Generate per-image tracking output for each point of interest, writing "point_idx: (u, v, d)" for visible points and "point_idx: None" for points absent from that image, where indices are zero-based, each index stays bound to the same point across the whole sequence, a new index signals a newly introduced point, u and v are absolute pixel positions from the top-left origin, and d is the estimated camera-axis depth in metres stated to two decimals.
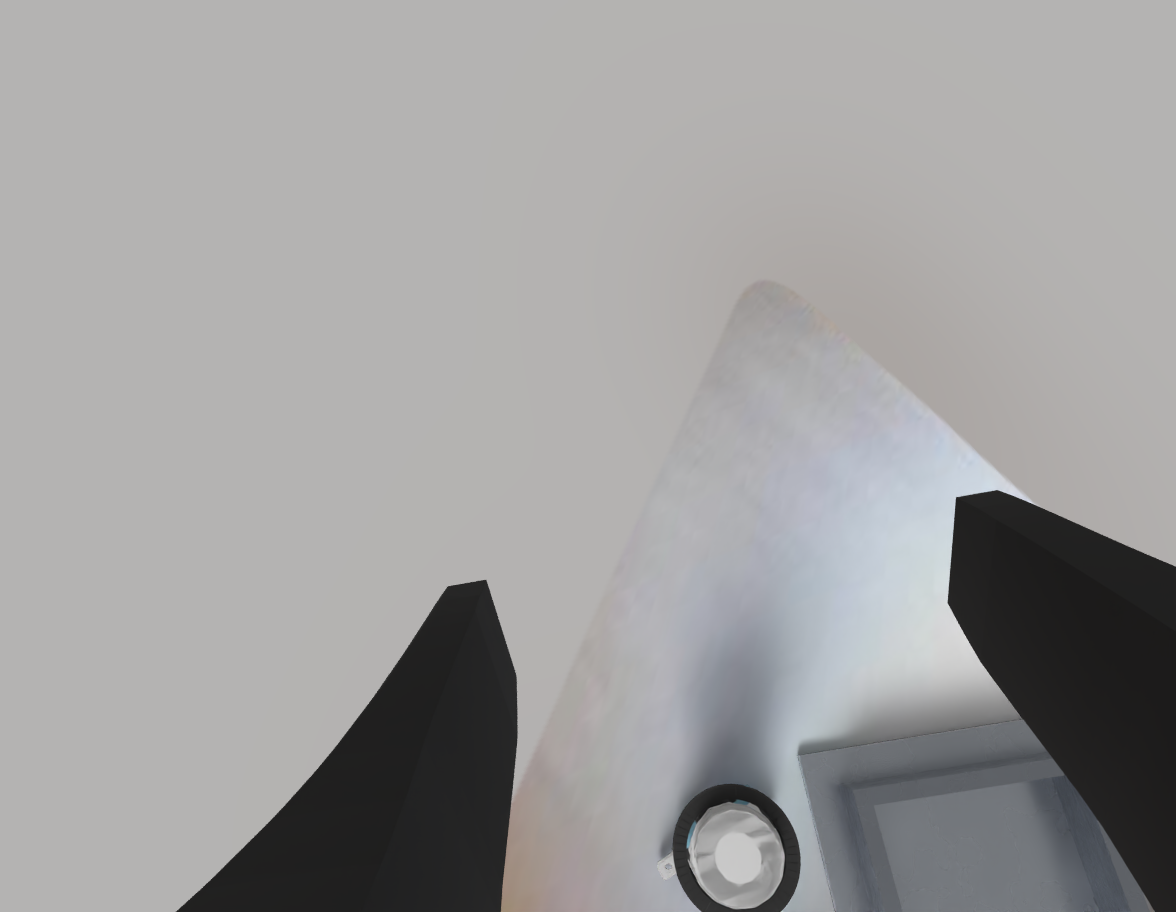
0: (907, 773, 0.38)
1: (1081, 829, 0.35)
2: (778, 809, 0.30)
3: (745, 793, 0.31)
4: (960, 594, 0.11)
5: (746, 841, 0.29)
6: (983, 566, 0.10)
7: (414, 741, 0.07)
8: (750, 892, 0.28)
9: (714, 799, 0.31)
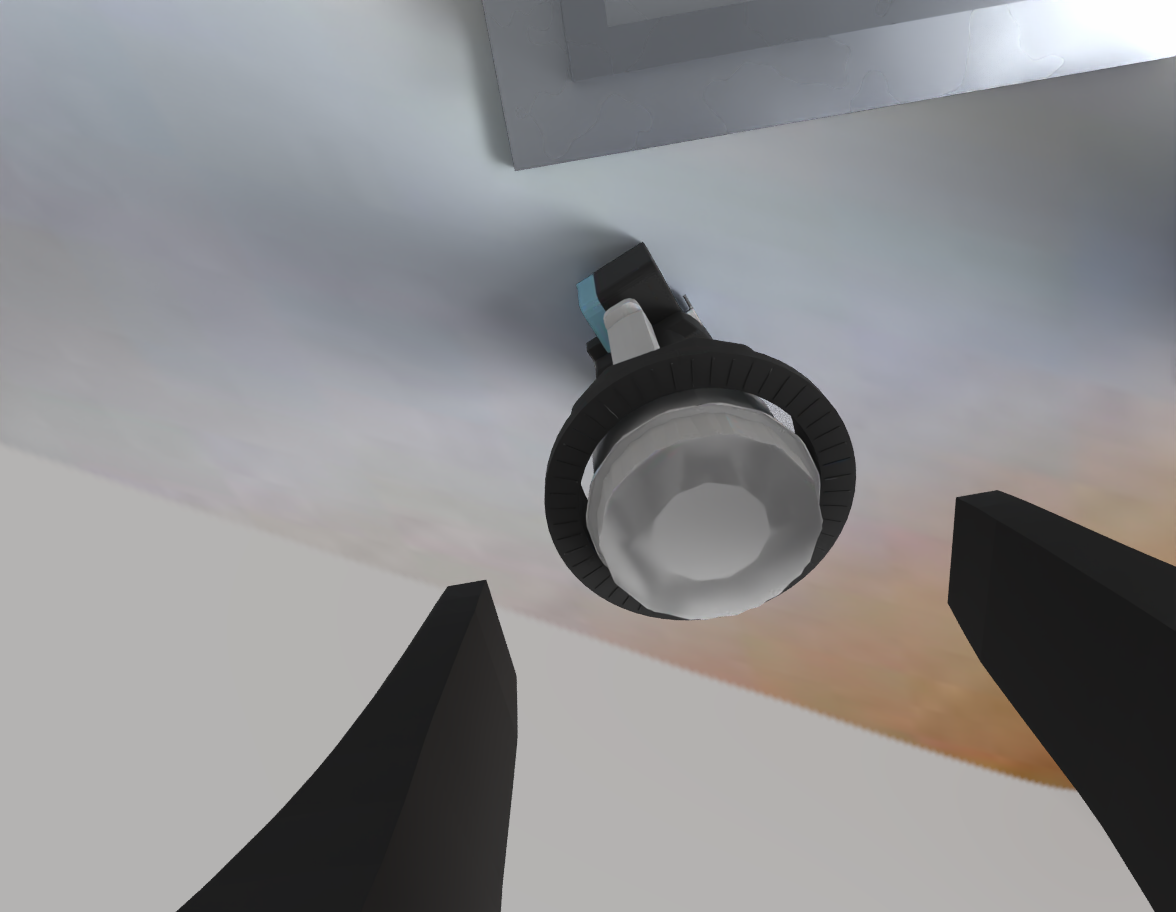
0: None
1: None
2: (601, 397, 0.11)
3: (564, 473, 0.12)
4: (960, 594, 0.11)
5: (674, 514, 0.11)
6: (983, 566, 0.10)
7: (414, 741, 0.07)
8: (789, 511, 0.11)
9: (579, 540, 0.12)
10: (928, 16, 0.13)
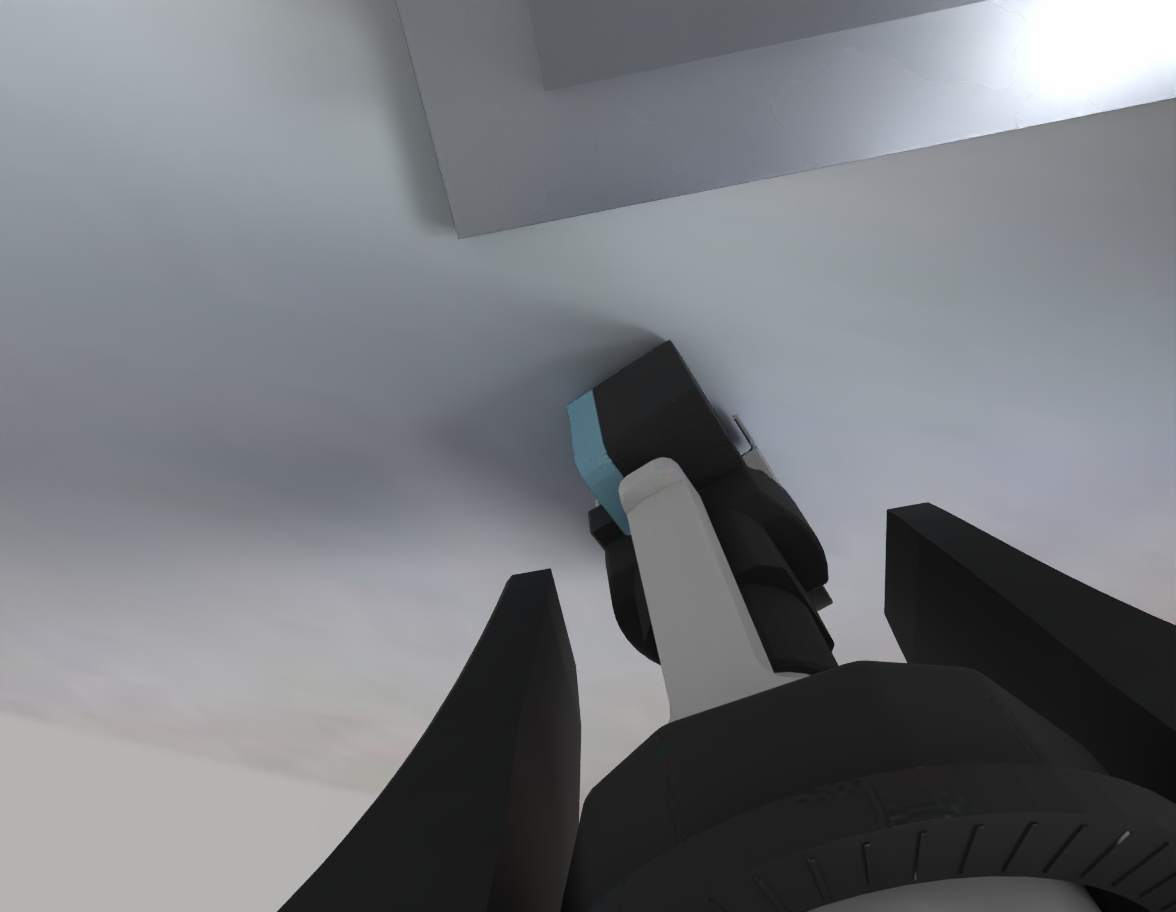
0: None
1: None
2: None
3: None
4: (894, 605, 0.11)
5: None
6: (911, 578, 0.10)
7: (508, 725, 0.07)
8: None
9: None
10: None
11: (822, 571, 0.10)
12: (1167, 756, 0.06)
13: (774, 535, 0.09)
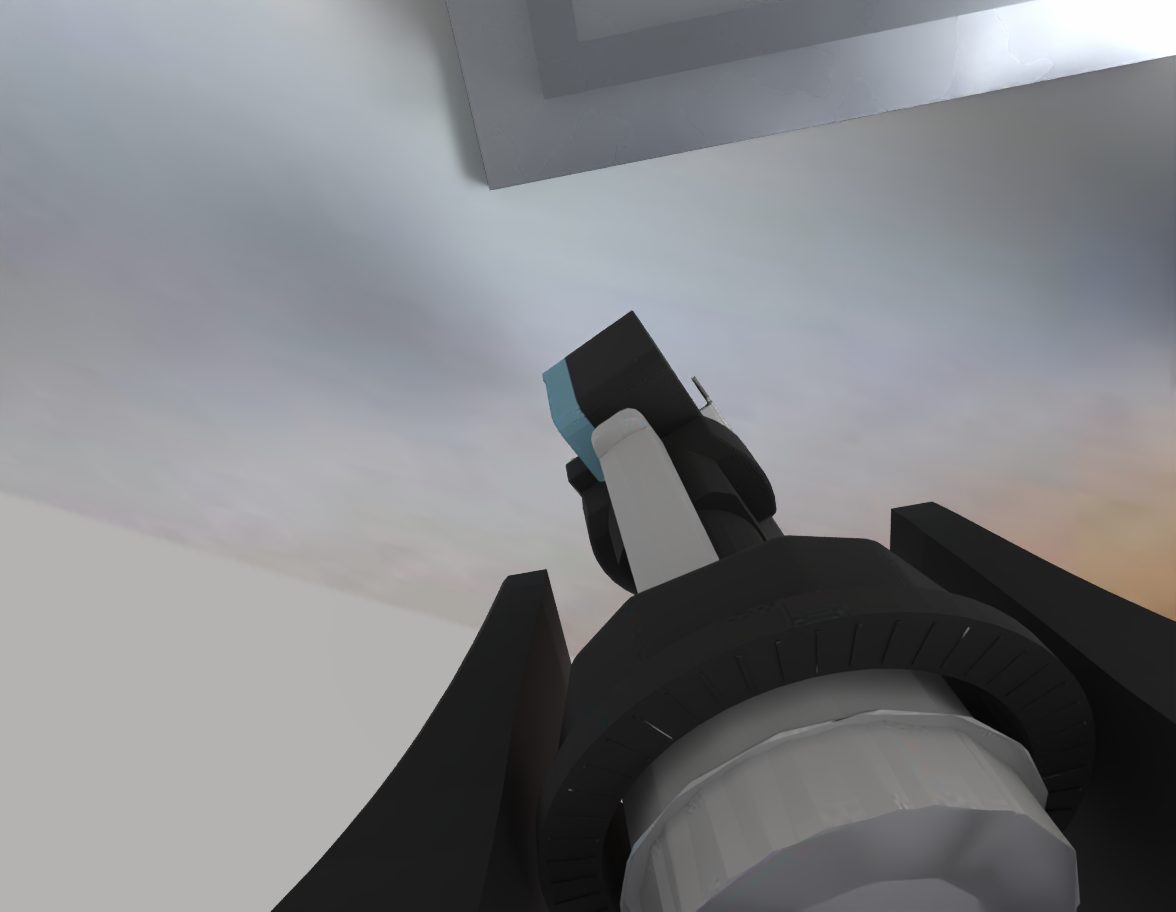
0: None
1: None
2: (639, 710, 0.06)
3: (572, 831, 0.06)
4: None
5: None
6: None
7: (502, 727, 0.07)
8: (1022, 899, 0.06)
9: None
10: (913, 23, 0.13)
11: (770, 503, 0.11)
12: None
13: (727, 471, 0.11)
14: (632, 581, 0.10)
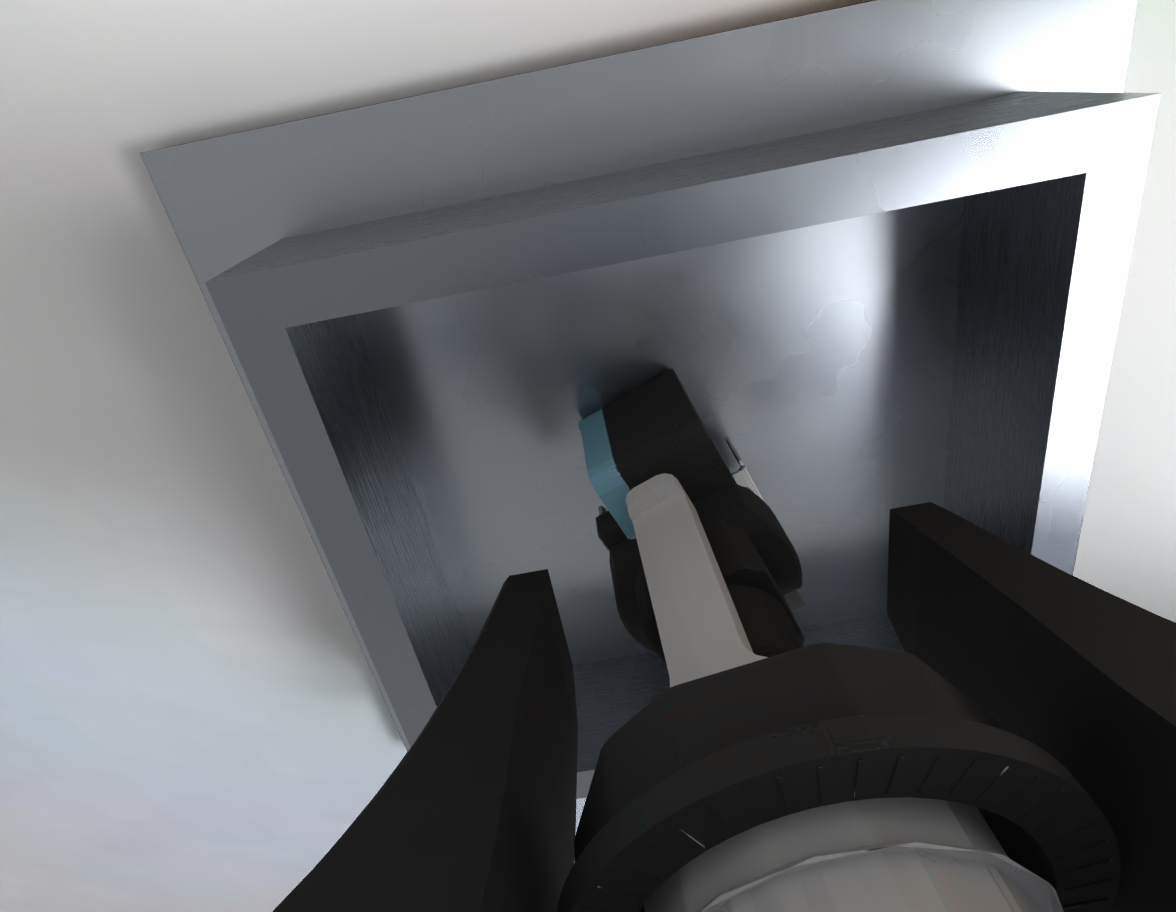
0: None
1: None
2: (676, 819, 0.06)
3: None
4: (896, 605, 0.11)
5: None
6: (914, 578, 0.10)
7: (504, 726, 0.07)
8: None
9: None
10: None
11: (797, 577, 0.11)
12: (1173, 756, 0.06)
13: (758, 544, 0.11)
14: (656, 647, 0.10)
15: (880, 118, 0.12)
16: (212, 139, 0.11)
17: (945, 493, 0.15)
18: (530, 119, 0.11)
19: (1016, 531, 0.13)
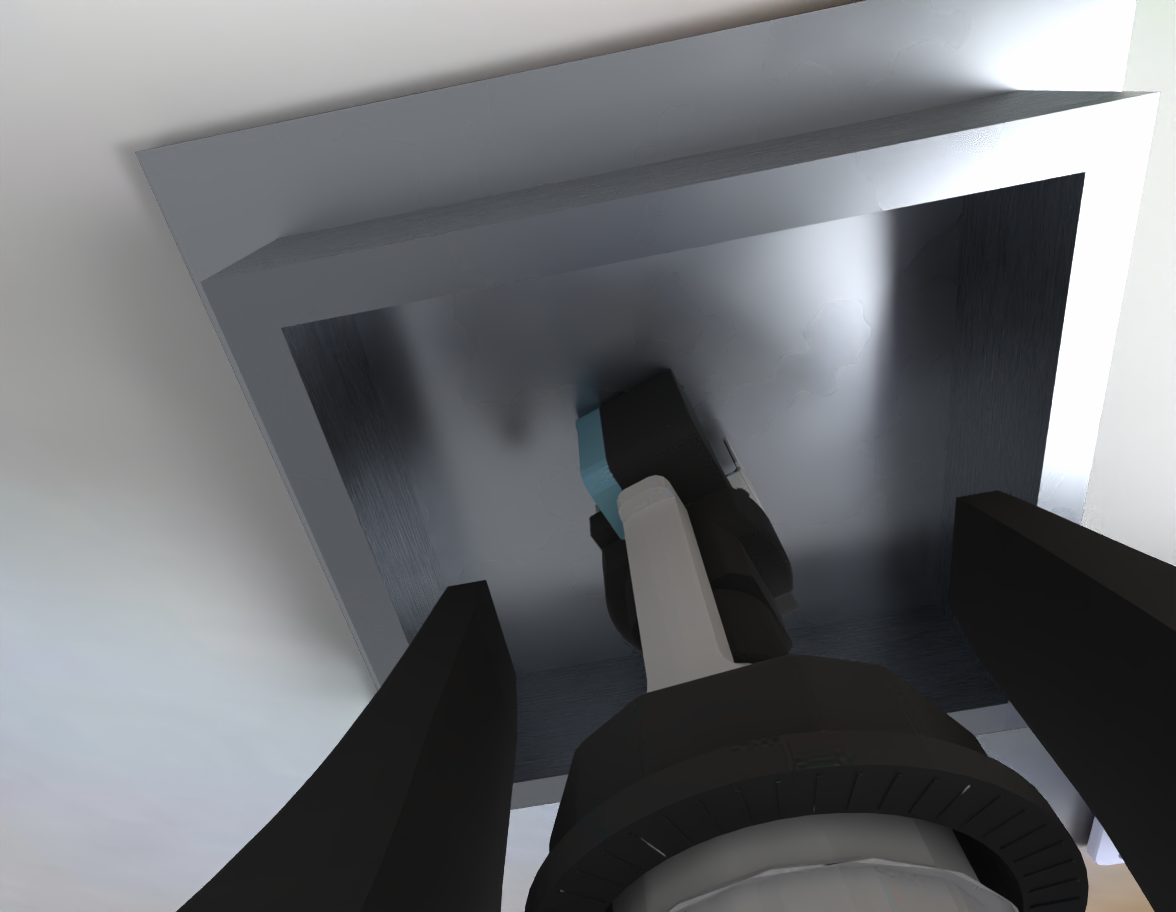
0: None
1: None
2: (637, 828, 0.06)
3: None
4: (960, 594, 0.11)
5: None
6: (983, 566, 0.10)
7: (414, 741, 0.07)
8: None
9: None
10: None
11: (788, 581, 0.11)
12: None
13: (748, 548, 0.11)
14: None
15: (879, 117, 0.12)
16: (208, 138, 0.11)
17: (944, 493, 0.15)
18: (527, 118, 0.11)
19: None
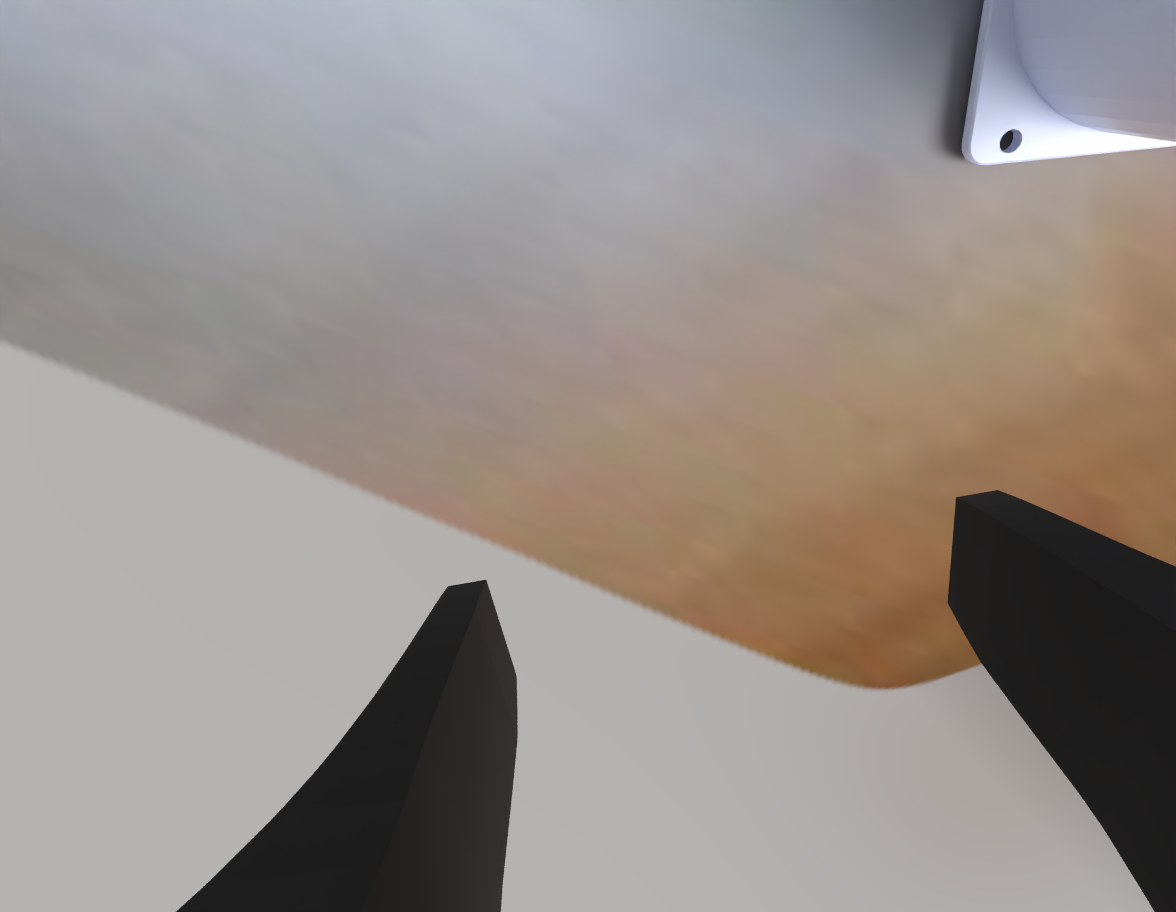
0: None
1: None
2: None
3: None
4: (960, 594, 0.11)
5: None
6: (983, 566, 0.10)
7: (414, 741, 0.07)
8: None
9: None
10: None
11: None
12: None
13: None
14: None
15: None
16: None
17: None
18: None
19: None
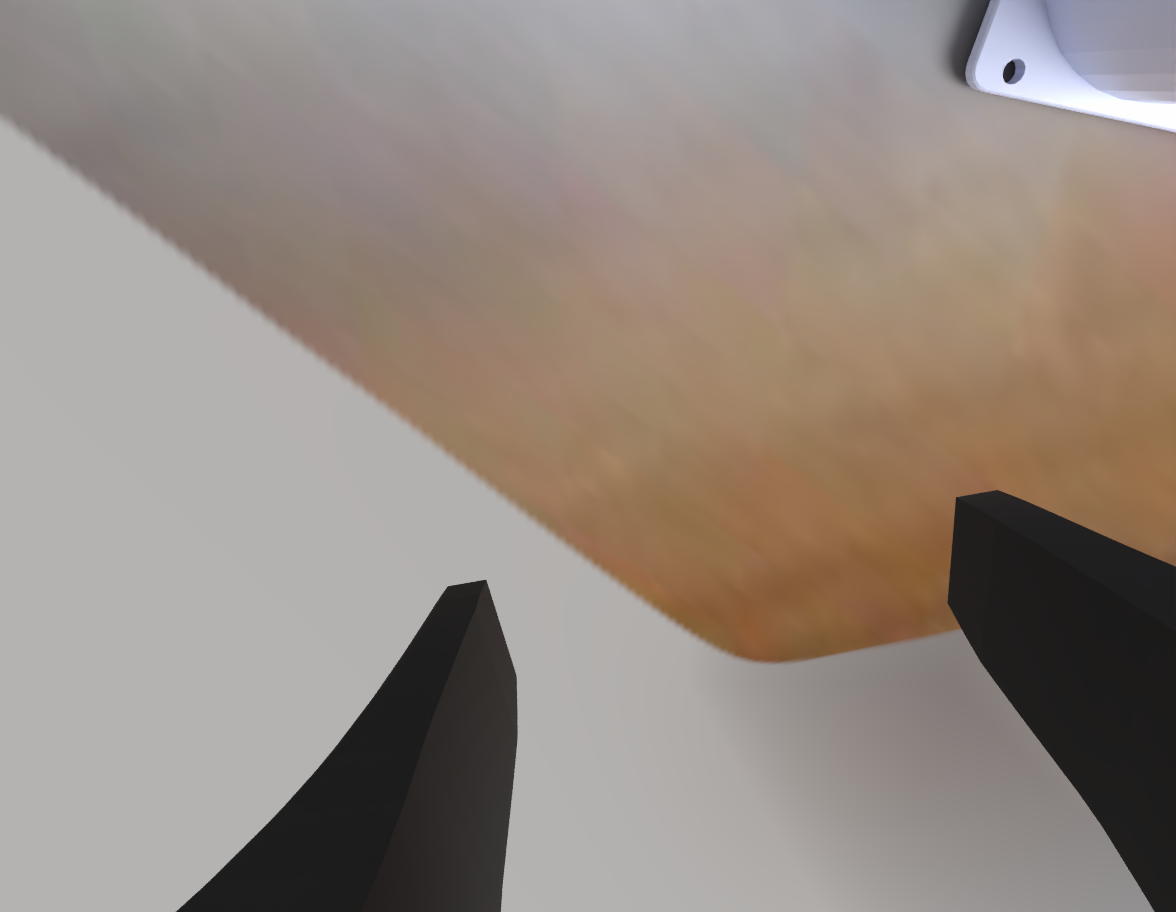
0: None
1: None
2: None
3: None
4: (960, 594, 0.11)
5: None
6: (983, 566, 0.10)
7: (414, 741, 0.07)
8: None
9: None
10: None
11: None
12: None
13: None
14: None
15: None
16: None
17: None
18: None
19: None
